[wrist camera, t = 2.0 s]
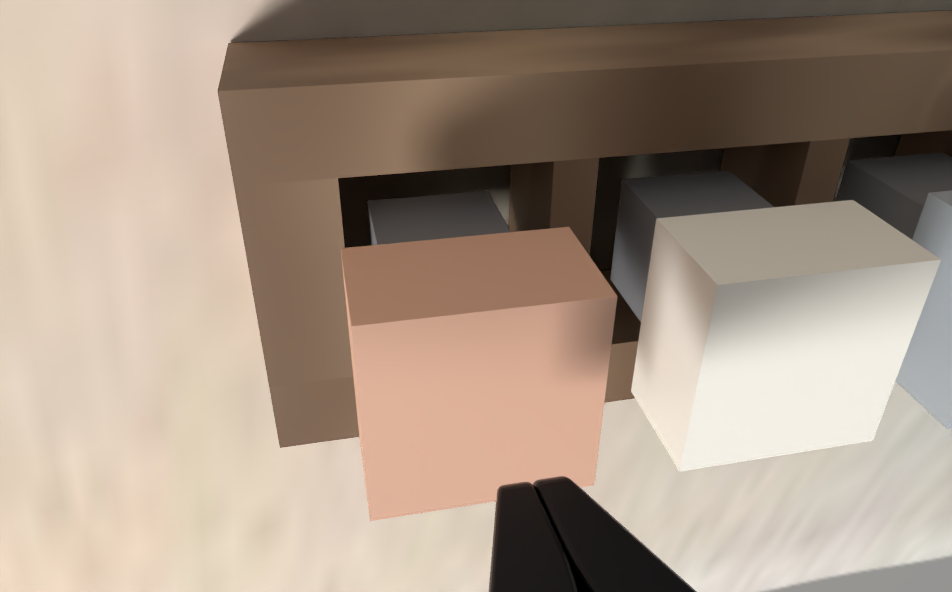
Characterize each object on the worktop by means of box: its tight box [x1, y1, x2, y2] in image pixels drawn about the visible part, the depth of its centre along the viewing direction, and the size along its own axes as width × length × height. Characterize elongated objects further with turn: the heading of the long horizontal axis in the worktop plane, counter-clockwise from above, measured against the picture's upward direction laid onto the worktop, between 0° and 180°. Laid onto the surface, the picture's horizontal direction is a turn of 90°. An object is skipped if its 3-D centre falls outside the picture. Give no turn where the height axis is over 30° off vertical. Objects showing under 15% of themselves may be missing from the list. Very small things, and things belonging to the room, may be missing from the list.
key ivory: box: [610, 170, 941, 471], centre depth 13 cm, size 3×3×5 cm
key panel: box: [218, 10, 952, 448], centre depth 16 cm, size 16×7×3 cm, turn 89°
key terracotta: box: [341, 191, 617, 521], centre depth 12 cm, size 3×3×5 cm
